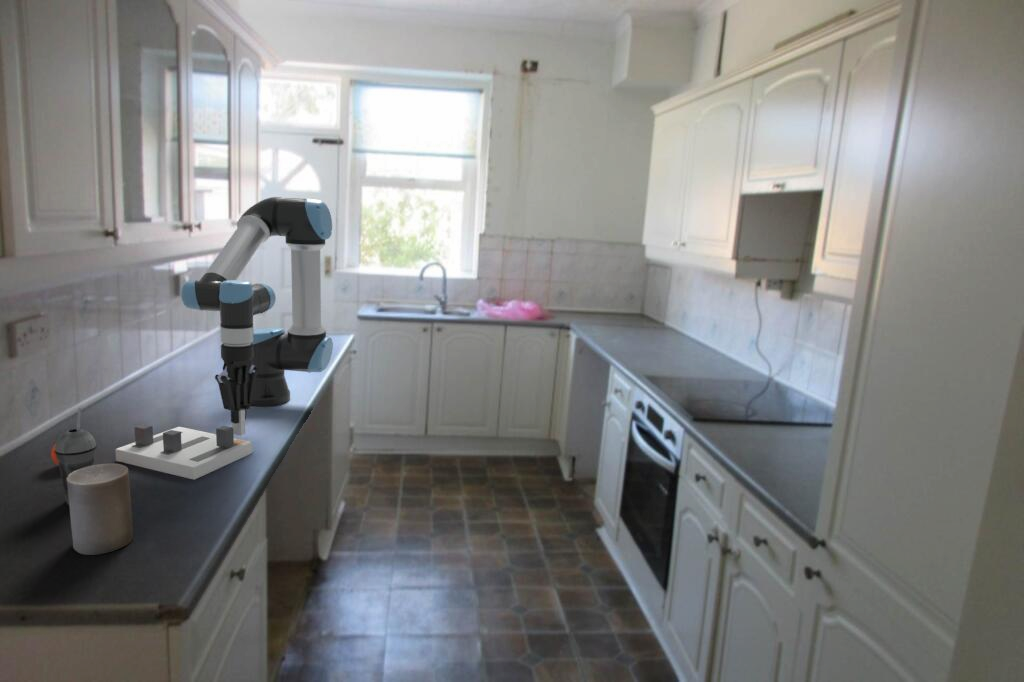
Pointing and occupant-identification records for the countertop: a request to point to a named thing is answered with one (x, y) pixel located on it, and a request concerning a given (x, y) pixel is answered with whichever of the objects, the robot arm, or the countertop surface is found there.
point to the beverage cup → (74, 452)
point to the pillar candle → (100, 508)
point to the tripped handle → (224, 436)
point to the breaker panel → (180, 451)
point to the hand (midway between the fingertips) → (238, 433)
